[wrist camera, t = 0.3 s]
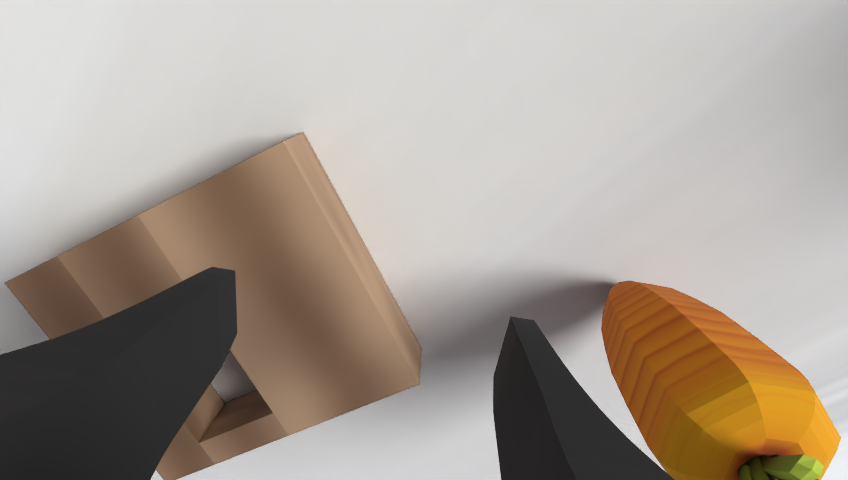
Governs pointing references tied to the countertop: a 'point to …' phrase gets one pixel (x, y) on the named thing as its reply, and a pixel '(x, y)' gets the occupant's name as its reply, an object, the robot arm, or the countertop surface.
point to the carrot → (711, 391)
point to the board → (249, 299)
